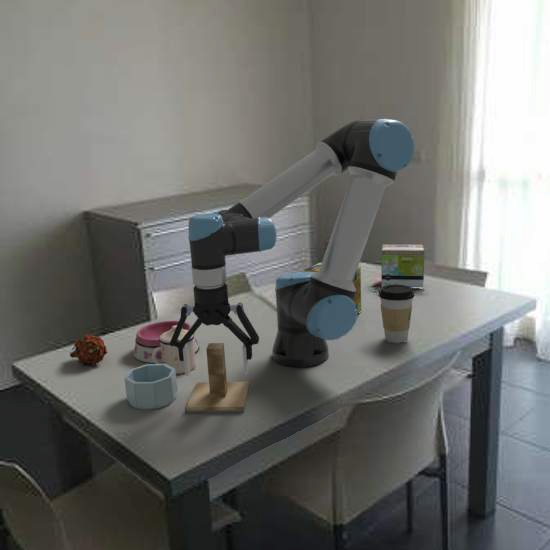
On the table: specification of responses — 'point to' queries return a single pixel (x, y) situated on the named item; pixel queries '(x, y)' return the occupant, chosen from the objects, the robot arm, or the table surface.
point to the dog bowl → (154, 340)
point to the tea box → (402, 265)
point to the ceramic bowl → (151, 386)
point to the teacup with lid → (174, 351)
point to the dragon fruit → (89, 350)
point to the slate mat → (218, 410)
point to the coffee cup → (396, 311)
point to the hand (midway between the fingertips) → (217, 372)
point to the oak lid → (218, 386)
